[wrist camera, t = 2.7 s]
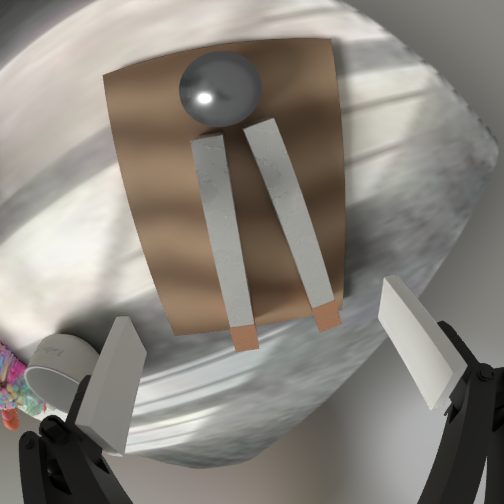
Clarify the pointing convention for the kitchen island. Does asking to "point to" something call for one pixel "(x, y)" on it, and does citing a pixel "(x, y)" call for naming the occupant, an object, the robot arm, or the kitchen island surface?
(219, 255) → the tongs fixed
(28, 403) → the candy landscape model
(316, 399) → the kitchen island surface
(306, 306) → the board
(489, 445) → the robot arm
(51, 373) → the teacup
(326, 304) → the tongs arm
